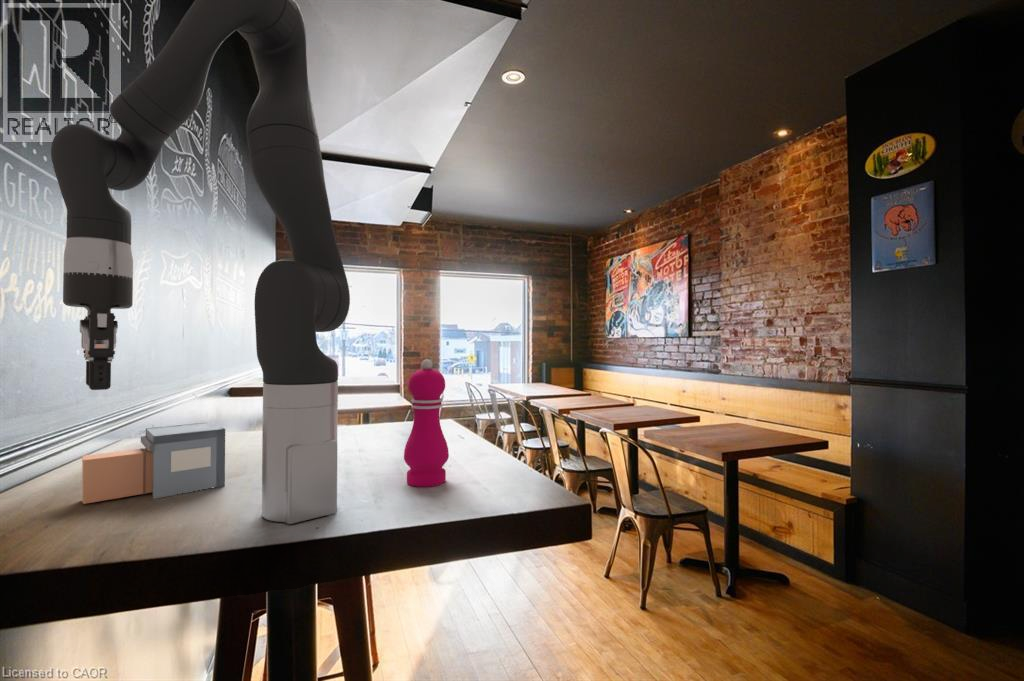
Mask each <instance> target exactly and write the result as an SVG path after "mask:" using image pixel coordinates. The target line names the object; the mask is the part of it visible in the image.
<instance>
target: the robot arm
mask: <svg viewBox="0 0 1024 681" xmlns="http://www.w3.org/2000/svg"><path fill="white" fill-rule="evenodd" d="M236 31H237V32H238V34H240V35H241V37H242V38H243V39H244V40H246V42H247V44H249V46H250V48H251V50H252V52H253V56H254V59H255V64H256V68H257V74H258V81H259V82H258V83H259V89H258V90H259V91H258V94H257V96H256V98H255V100H254V102H253V104H252V105H251V108H250V110H249V113H248V116H247V120H246V126H245V128H246V131H245V132H246V133H245V134H246V140H247V146H248V153H249V160H250V166H251V172H252V173H253V176H254V181H255V182H256V184H257V186H258V188H259V190H260V192H261V194H262V195H263V197H264V199H265V201H266V203H267V204H268V206H269V207H270V209H271V211H273V215H275V217H276V218H277V220H278V221H279V224H280V225H281V227H282V228H283V230H284V232H285V233H284V234H286V236H287V240H288V242H289V246H290V249H291V254H292V259H279V260H276V261H273V262H271V263H269V264H268V265H267V266H265V268H264V269H263V270H262V272H261V273H260V275H259V277H258V279H257V283H256V286H255V291H254V292H255V293H254V323H255V324H254V325H255V343H256V344H255V345H256V356H257V360H258V363H259V364H258V365H259V366H260V368H261V371H262V382H263V383H262V438H261V440H262V444H261V445H262V447H261V448H262V450H261V451H262V452H261V454H262V457H261V460H262V461H261V462H262V464H261V516H262V518H263V519H265V520H268V521H271V522H279V523H281V522H282V523H286V524H287V525H293V524H297V523H301V522H304V521H307V520H309V521H310V520H312V519H316V518H320V517H324V516H329V515H332V514H337V512H338V417H339V416H338V406H339V405H338V404H339V403H338V401H339V399H338V397H339V396H338V395H339V394H338V393H339V391H338V390H339V382H338V380H339V367H338V363H337V362H336V360H335V359H333V358H331V357H329V356H327V355H326V354H325V353H324V352H323V351H322V349H320V347H319V345H318V342H317V333H327V332H333V331H335V330H336V329H338V328H339V327H341V326H342V325H343V323H345V320H346V319H347V317H348V314H349V310H350V304H351V302H350V301H351V297H350V296H351V294H350V288H349V287H350V286H349V282H348V278H347V275H346V271H345V267H344V265H343V260H342V256H341V253H340V250H339V247H338V246H339V245H338V242H337V239H336V238H337V237H336V234H335V230H334V226H333V219H332V214H331V210H330V203H329V197H328V194H327V193H328V192H327V186H326V181H325V180H326V179H325V173H324V164H323V163H324V162H323V157H322V151H321V144H320V140H319V135H318V129H317V124H316V118H315V112H314V105H313V104H314V103H313V100H312V94H311V88H310V84H309V75H308V74H309V72H308V52H307V51H308V50H307V33H306V32H307V31H306V24H305V19H304V15H303V13H302V10H301V8H300V6H299V4H298V3H297V1H296V0H194V1H193V2H192V3H191V5H190V7H189V8H188V9H187V11H186V12H185V13H184V15H183V17H182V19H181V20H180V22H179V24H178V25H177V27H176V28H175V30H174V31H173V33H172V34H171V36H170V37H169V39H168V40H167V42H166V43H165V45H164V46H163V48H162V49H161V50H160V51H159V53H158V54H157V56H155V57H154V59H153V60H152V62H150V64H148V66H147V67H146V68H145V69H144V70H143V71H142V72H140V74H139V75H138V76H137V77H136V78H134V80H133V81H132V82H131V83H129V85H127V87H126V88H125V89H124V90H122V91H121V93H119V94H118V95H117V97H116V98H114V100H113V101H112V102H111V104H110V106H109V112H110V114H111V117H112V118H113V120H114V121H115V122H116V123H117V125H119V126H120V127H121V129H122V130H121V132H120V134H119V136H117V138H114V137H111V136H110V135H107V134H106V133H104V132H101V131H99V130H98V129H95V128H93V127H91V126H88V125H84V124H80V123H72V124H67V125H66V126H63V127H62V128H60V129H59V130H58V131H57V132H56V134H55V136H54V137H53V139H52V142H51V147H50V159H51V163H52V168H53V170H54V174H55V177H56V180H57V184H58V186H59V189H60V194H61V197H62V199H63V202H64V205H65V208H66V239H65V240H66V241H65V247H64V251H63V252H64V253H63V267H62V268H63V272H62V273H63V276H62V277H63V280H62V281H63V282H62V285H63V286H62V302H63V304H64V305H65V306H67V307H73V308H74V307H75V308H84V309H86V311H87V314H86V315H85V317H84V318H83V319H80V320H79V333H80V334H81V336H80V337H81V338H80V339H81V343H80V344H81V349H82V350H83V352H82V353H83V358H84V360H86V362H85V384H86V385H87V386H88V388H89V389H90V390H91V391H104V390H105V391H107V390H108V389H110V388H111V386H112V384H111V382H112V375H111V374H112V362H113V359H114V358H115V357H114V356H115V354H116V351H115V349H116V347H117V333H118V328H119V324H118V323H119V322H118V320H115V319H116V315H115V313H114V312H112V309H114V310H115V309H116V310H117V309H118V310H119V309H121V310H122V309H123V310H126V309H130V308H131V307H133V303H134V302H133V300H134V299H133V298H134V296H133V295H134V294H133V292H134V286H133V285H134V283H133V282H134V278H133V277H134V259H133V253H132V252H133V251H132V216H131V212H130V210H129V208H127V206H125V205H124V204H122V203H120V202H119V201H118V200H116V199H115V198H114V197H113V196H112V194H111V192H110V190H113V191H117V192H119V191H122V192H123V191H128V190H131V189H134V188H135V187H137V186H139V185H140V184H141V183H143V182H144V181H145V179H146V178H147V176H148V175H149V174H150V172H151V171H152V168H153V166H154V165H155V162H156V160H157V158H158V157H159V155H160V153H161V150H162V147H163V146H164V144H165V142H166V141H167V140H168V139H169V138H170V137H171V136H172V135H173V134H175V132H176V131H177V130H179V128H181V127H182V125H184V123H186V122H187V121H188V120H189V118H190V117H192V116H193V114H194V113H195V111H196V110H197V109H198V107H199V104H200V103H201V100H202V98H203V95H204V91H205V87H206V83H207V78H208V75H209V71H210V67H211V64H212V61H213V59H214V57H215V55H216V53H217V52H218V50H219V48H220V47H221V45H223V42H224V41H226V39H227V38H228V37H230V36H231V35H232V34H233V33H234V32H236Z"/></svg>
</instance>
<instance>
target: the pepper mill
mask: <svg viewBox="0 0 1024 681" xmlns="http://www.w3.org/2000/svg"><path fill="white" fill-rule="evenodd" d="M432 367H433V362H432V360H431V359H427V358H425V359H424V360H422V362H421V368H420V369H418V370H416V371H414V372H413V373H412V374H411V375H410V377H409V379H408V384H407V386H408V387H407V388H408V391H409V394H410V395H411V396H412V397H413V398H411V400H410V401H411V406H410V407H411V408H412V409H413V422H412V423H413V424H412V428H411V431H410V434H409V437H408V438H407V441H406V443H405V447H404V452H403V461H404V462H405V464H406V465H407V466H408V467H409V469H408V470H407V471H406V483H407V484H408V485H410V486H411V487H417V488H428V487H429V488H431V487H437V486H439V485H443V484H444V483H445V482H446V481H447V478H446V472H447V471H446V469H445V468H444V465H445V464H446V463H447V462H448V460H449V456H450V454H449V447H448V442H447V440H446V438H445V435H444V433H443V430H442V429H443V428H442V427H441V420H440V412H441V411H440V409H441V408H442V407H443V404H442V402H443V398H442V397H441V396H442V395H443V393H444V391H445V390H446V380H445V377H444V376H443V374H442V373H441V372H440V371H438V370H436V369H434V368H432Z"/></svg>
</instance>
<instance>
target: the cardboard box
mask: <svg viewBox="0 0 1024 681" xmlns="http://www.w3.org/2000/svg"><path fill="white" fill-rule="evenodd" d="M81 458H82V463H81V464H82V465H81V468H82V469H81V499H82V500H81V501H82V504H83V505H84V504H85V505H87V504H90V503H97V502H103V501H110V500H115V499H121V498H126V497H132V496H137V495H146V494H149V493H151V494H152V493H153V451H151V452H149V451H148V450H147V449H146V447H144V448H141V447H140V448H138V449H129V450H121V451H120V450H119V451H112V452H104V453H95V454H87V455H86V454H85V455H82V456H81Z"/></svg>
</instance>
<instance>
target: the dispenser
mask: <svg viewBox="0 0 1024 681" xmlns="http://www.w3.org/2000/svg"><path fill="white" fill-rule="evenodd" d="M140 443H141V444H142V445H143V446H144V448H146V449H147V450H148V451H149V452H151V451H153V492H152V498H153V499H161V498H165V497H171V496H177V494H178V495H183V494H189V493H193V491H195V492H199V491H198V490H200V491H203V490H202V489H206V490H208V489H207V488H212V487H217V488H220V487H219V486H223V487H225V486H226V482H225V481H226V428H224V427H222V426H221V425H218V424H216V423H214V422H212V421H210V422H209V421H208V422H197V423H196V422H195V423H186V424H180V425H179V424H177V425H168V426H167V425H165V426H158V427H157V426H156V427H146V428H145V435H140ZM212 489H213V488H212ZM188 492H189V493H188ZM182 493H183V494H182Z"/></svg>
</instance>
